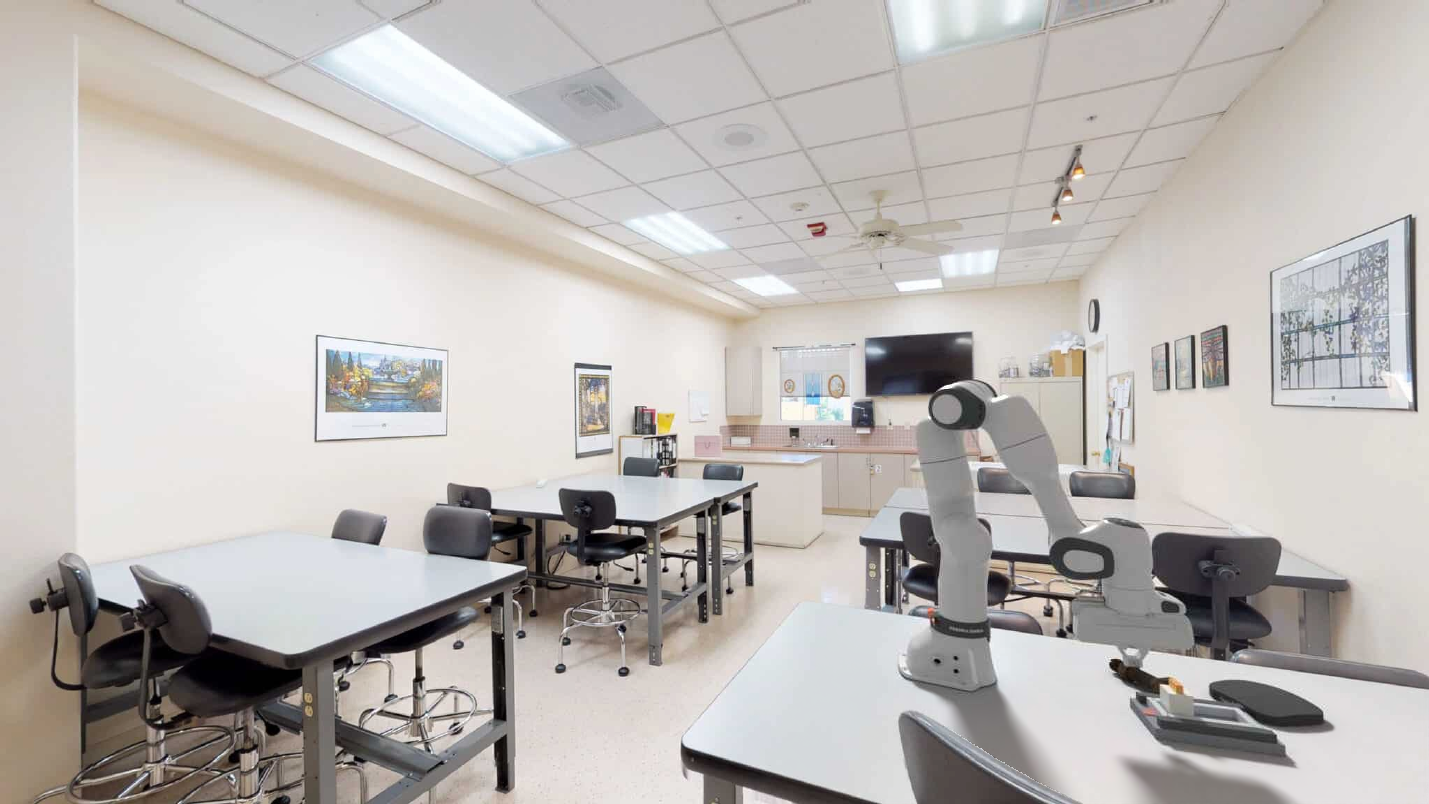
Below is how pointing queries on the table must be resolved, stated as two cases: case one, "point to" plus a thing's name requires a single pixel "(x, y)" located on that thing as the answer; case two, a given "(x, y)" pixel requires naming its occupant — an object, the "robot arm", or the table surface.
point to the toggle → (1176, 699)
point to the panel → (1206, 738)
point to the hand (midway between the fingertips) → (1133, 665)
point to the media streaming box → (1267, 703)
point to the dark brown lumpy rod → (1138, 676)
